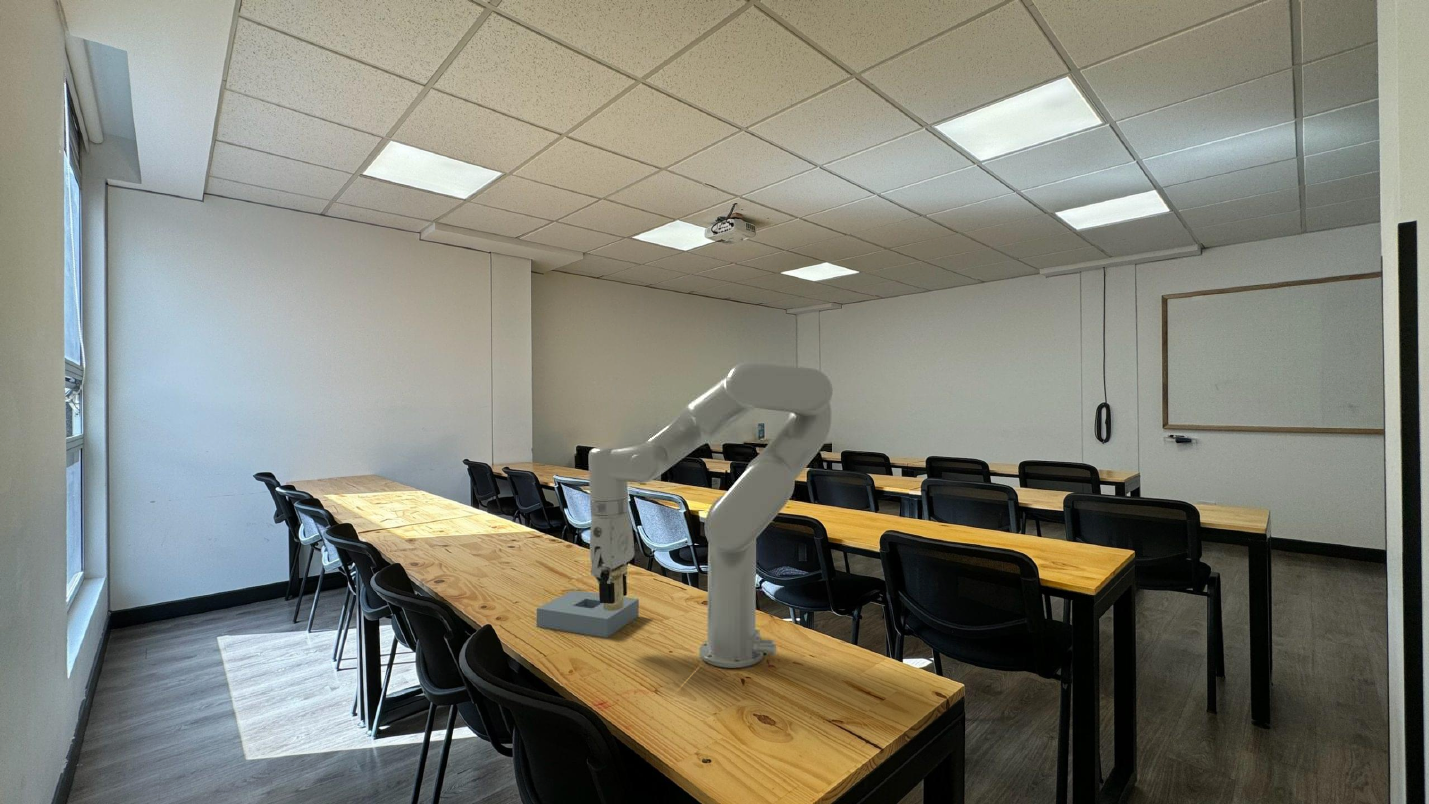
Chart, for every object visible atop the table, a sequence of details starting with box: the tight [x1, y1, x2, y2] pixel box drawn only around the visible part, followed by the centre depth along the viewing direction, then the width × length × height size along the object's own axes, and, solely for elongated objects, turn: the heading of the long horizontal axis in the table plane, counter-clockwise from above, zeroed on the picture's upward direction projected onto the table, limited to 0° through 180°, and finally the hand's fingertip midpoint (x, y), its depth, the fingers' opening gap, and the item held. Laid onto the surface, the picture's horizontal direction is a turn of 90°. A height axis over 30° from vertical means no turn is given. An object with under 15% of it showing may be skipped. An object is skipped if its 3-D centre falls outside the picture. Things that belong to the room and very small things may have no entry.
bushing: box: [602, 564, 628, 611], centre depth 116 cm, size 6×6×8 cm
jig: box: [536, 589, 640, 639], centre depth 131 cm, size 18×14×4 cm
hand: (613, 598), depth 116 cm, fingers closed on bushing, 4 cm apart
